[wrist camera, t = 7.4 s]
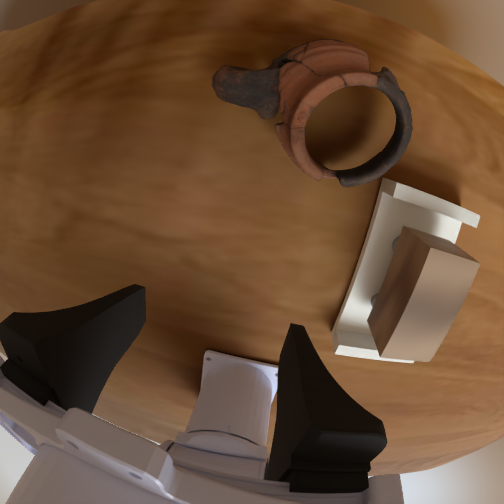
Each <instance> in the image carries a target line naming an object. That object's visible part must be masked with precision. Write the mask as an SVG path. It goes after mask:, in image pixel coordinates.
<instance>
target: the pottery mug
mask: <svg viewBox="0 0 504 504" xmlns="http://www.w3.org/2000/svg"><path fill="white" fill-rule="evenodd" d="M357 85H361V86H368V87H372V88H376V89H378V90H380V91H381V92H383V93H384V94H385V95H386V96H387V97H388V98H389V99H390V101H391V102H392V104H393V106H394V109H395V113H396V126H395V131H394V134H393V135H392V137H391V139H390V141H389V142H388V144H387V145H386V147H385V148H384V149H383V150H382V151H381V152H379V153H378V154H377V155H376V156H375V157H373V158H372V159H371V160H369V161H368V162H366V163H364V164H363V165H361V166H358V167H355V168H352V169H347V170H329V169H328V168H326V167H325V166H323V165H322V164H320V163H316V162H315V161H314V160H313V159H312V158H311V157H310V155H309V153H308V151H307V148H306V144H305V125H306V124H307V121H308V118H309V116H310V115H311V113H312V112H313V110H314V109H315V107H316V106H317V105H318V104H319V103H320V102H321V101H322V100H323V99H324V98H325V97H327V96H328V95H330V94H331V93H333V92H335V91H337V90H339V89H342V88H344V87H348V86H357ZM212 87H213V88H214V90H215V92H216V94H217V96H218V97H219V98H220V99H222V100H223V101H226V102H229V103H232V104H236V105H239V106H242V107H248V108H252V109H254V110H256V111H257V112H258V113H259V115H260V117H261V118H262V119H271V118H273V117H274V116H275V115H276V114H277V112H278V109H279V110H280V114H281V115H282V118H283V122H281V123H277V124H275V129H276V132H277V134H278V137H279V139H280V141H281V143H282V145H283V147H284V149H285V151H286V152H287V154H288V155H289V156H290V158H291V159H292V160H293V161H294V163H295V164H296V165H297V166H298V167H299V168H301V169H302V171H303V172H304V173H305V174H307V175H308V176H310V177H311V178H313V179H314V180H317V181H320V180H321V178H332V179H339V181H340V184H341V185H342V186H343V187H355V186H359V185H362V184H365V183H368V182H371V181H373V180H375V179H377V178H379V177H380V176H382V175H383V174H384V173H386V172H387V171H388V170H389V168H391V167H393V166H394V165H395V164H396V163H397V162H398V161H399V159H400V158H401V156H402V155H403V153H404V152H405V151H406V148H407V146H408V144H409V142H410V139H411V133H412V129H413V127H412V115H411V108H410V106H409V104H408V101H407V99H406V96H405V94H404V92H403V91H402V90H400V88H399V85H398V83H397V80H396V78H395V76H394V75H393V74H392V72H391V71H390V70H389V69H388V68H386V67H382V71H380V72H376V73H371V72H370V64H369V59H368V56H367V53H366V52H365V51H363V50H361V49H359V48H358V47H357V46H355V45H351V44H348V43H344V42H341V41H339V40H331V39H321V40H316V41H312V42H308V43H306V44H303V45H300V46H298V47H296V48H294V49H292V50H289V51H288V52H286V53H284V54H283V55H281V56H280V57H278V58H277V59H275V60H273V61H272V64H271V66H269V67H267V68H265V69H261V70H249V69H244V68H240V67H234V66H226V65H223V66H222V67H221V68H220V69H219V70H218V71H217V72H216V73H215V74H214V75H213V78H212Z"/></svg>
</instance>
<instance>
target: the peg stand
mask: <svg viewBox="0 0 504 504" xmlns="http://www.w3.org/2000/svg"><path fill="white" fill-rule="evenodd" d="M479 219H480V215H478V214H476V213H474V212H471V211H469V210H467V209H465V208H463V207H461V206H458V205H456V204H453V203H451V202H449V201H446V200H444V199H441V198H439V197H436V196H434V195H431V194H428V193H426V192H423V191H421V190H418V189H415V188H412V187H410V186H407V185H404V184H401V183H398V182H395V181H392V180H389V179H386V178H382V182H381V186H380V190H379V194H378V198H377V201H376V205H375V209H374V212H373V216H372V219H371V223H370V226H369V229H368V233H367V236H366V239H365V242H364V245H363V248H362V251H361V254H360V257H359V260H358V263H357V266H356V269H355V272H354V275H353V278H352V280H351V283H350V286H349V289H348V291H347V294H346V297H345V299H344V302H343V304H342V307H341V310H340V312H339V315H338V317H337V320H336V322H335V324H334V327H333V329H332V332H331V334H332V340H333V346H334V353H335V354H338V355H345V356H352V357H360V358H367V359H376V360H385V361H395V362H406V363H413V362H414V361H411V360H400V359H390V358H381V357H380V356H379V353H378V350H377V347H376V344H375V342H374V339H373V336H372V333H371V330H370V328H369V325H368V322H367V319H368V317H369V315H370V312H371V310H372V308H373V305H374V303H375V301H376V298H377V296H378V294H379V291H380V289H381V286H382V284H383V281H384V279H385V276H386V274H387V271H388V268H389V266H390V263H391V260H392V257H393V255H394V252H395V249H396V246H397V243H398V240H399V237H400V234H401V231H402V228H403V226H406V227H410V228H413V229H416V230H419V231H422V232H426V233H429V234H432V235H435V236H438V237H441V238H444V239H447V240H449V241H451V242H452V243H454V244H455V242H456V239H457V236H458V233H459V230H460V227H461V224H462V222H463V223H466V224H468V225H470V226H473V227H475V228H477V225H478V222H479Z"/></svg>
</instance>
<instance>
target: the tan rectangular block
mask: <svg viewBox="0 0 504 504" xmlns="http://www.w3.org/2000/svg"><path fill="white" fill-rule="evenodd" d="M479 266H480V263H479V262H478V261H476V260H475V259H474V258H473V257H471V256H470V255H469V254H467V253H466V252H465V251H463V250H462V249H461V248H459V247H458V246H456V245H455V244H454V243H452V242H451V241H449V240H447V239H444V238H441V237H438V236H435V235H432V234H429V233H426V232H422V231H419V230H416V229H413V228H410V227H406V226H403V228H402V231H401V234H400V237H399V240H398V243H397V246H396V249H395V252H394V255H393V257H392V260H391V263H390V266H389V268H388V271H387V274H386V276H385V279H384V281H383V284H382V286H381V289H380V291H379V294H378V296H377V298H376V301H375V303H374V305H373V308H372V310H371V312H370V315H369V317H368V319H367V322H368V325H369V328H370V330H371V333H372V336H373V339H374V342H375V344H376V347H377V350H378V353H379V356H380V357H381V358H390V359H400V360H411V361H423V362H430V360H431V359H432V357H433V356H434V354H435V353H436V351H437V349H438V348H439V346H440V344H441V343H442V341H443V339H444V338H445V336H446V334H447V332H448V331H449V329H450V327H451V325H452V323H453V321H454V320H455V318H456V316H457V314H458V312H459V310H460V308H461V306H462V304H463V302H464V300H465V298H466V296H467V293H468V291H469V289H470V287H471V285H472V282H473V280H474V278H475V275H476V273H477V271H478V268H479Z"/></svg>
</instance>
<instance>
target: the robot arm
mask: <svg viewBox="0 0 504 504" xmlns="http://www.w3.org/2000/svg"><path fill="white" fill-rule="evenodd" d="M145 321H146V302H145V287H143V286H139V285H136V284H134V285H131V286H128V287H126V288H123V289H121V290H118V291H116V292H114V293H111V294H109V295H107V296H104V297H102V298H99V299H96V300H94V301H91V302H88V303H85V304H82V305H79V306H75V307H71V308H67V309H61V310H56V311H49V312H38V313H19V312H13V313H12V314H11V315H9V316H8V317H7V318H6V319H5V320H3V321H2V322H1V323H0V340H1V343H2V345H3V348H4V350H5V352H6V354H7V357H8V359H7V360H6V361H4V360H3V359H2V357H1V356H0V425H1V426H3V427H4V428H5V429H6V430H7V431H8V432H9V433H10V434H11V435H12V436H13V437H14V438H15V439H17V440H18V441H19V442H20V443H21V444H22V445H23V446H25V447H26V448H27V449H28V450H29V451H30V452H32V453H33V454H34V455H35V456H34V458H33V460H32V461H31V463H30V464H29V466H28V467H27V469H26V470H25V472H24V474H23V475H22V477H21V478H20V480H19V482H18V483H17V485H16V487H15V488H14V490H13V492H12V493H11V495H10V497H9V498H8V500H7V502H6V504H404V500H403V492H402V486H401V480H400V474H388V475H378V476H373V477H370V478H368V472H369V471H370V469H371V466H370V462H371V461H372V460H373V459H374V458H375V457H376V456H377V455H378V454H380V453H381V452H382V450H383V449H384V448H385V447H386V444H387V438H386V433H385V429H384V425H383V422H382V421H381V420H380V419H378V418H377V417H375V416H374V415H372V414H371V413H370V412H368V411H367V410H365V409H364V408H363V407H362V406H360V405H359V404H358V403H357V402H356V401H355V400H353V399H352V398H351V397H350V396H349V395H348V394H347V393H346V392H345V391H344V390H343V389H342V388H341V386H340V385H339V384H338V383H337V382H336V381H335V379H334V378H333V377H332V376H331V374H330V373H329V372H328V370H327V369H326V367H325V366H324V364H323V362H322V361H321V359H320V357H319V356H318V354H317V352H316V350H315V348H314V346H313V344H312V342H311V340H310V338H309V336H308V334H307V332H306V330H305V328H304V326H302V325H297V324H292V323H291V324H290V327H289V330H288V333H287V336H286V339H285V342H284V345H283V348H282V351H281V354H280V360H279V366H278V365H273V364H268V363H263V362H258V361H253V360H249V359H244V358H240V357H235V356H231V355H227V354H223V353H219V352H215V351H211V350H207V351H205V354H204V361H203V370H202V380H201V390H200V393H199V396H198V399H197V401H196V404H195V407H194V409H193V412H192V415H191V418H190V420H189V423H188V426H187V428H186V431H185V433H183V432H178V435H177V437H176V440H175V441H172V440H167V441H165V442H164V443H162V444H161V445H157V444H156V443H154V442H152V441H150V440H148V439H145V438H143V437H141V436H139V435H136V434H134V433H131V432H129V431H126V430H124V429H122V428H120V427H117V426H115V425H113V424H111V423H109V422H106V421H104V420H102V419H100V418H98V417H96V416H94V415H92V412H93V409H94V407H95V405H96V402H97V400H98V398H99V395H100V393H101V391H102V389H103V387H104V385H105V383H106V381H107V379H108V378H109V376H110V374H111V372H112V370H113V369H114V367H115V366H116V364H117V363H118V361H119V360H120V359H121V357H122V356H123V355H124V353H125V352H126V351H127V349H128V348H129V347H130V345H131V344H132V343H133V341H134V340H135V338H136V337H137V336H138V334H139V332H140V330H141V329H142V327H143V325H144V323H145ZM209 358H210V359H209ZM276 373H278V374H276ZM276 391H277V416H276V424H275V430H274V437H273V442H272V448H271V454H270V458H268V459H267V463H266V456H267V447H266V441H267V433H268V425H269V417H270V409H271V403H272V401H273V398H274V396H275V394H276ZM265 465H266V468H265Z"/></svg>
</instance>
